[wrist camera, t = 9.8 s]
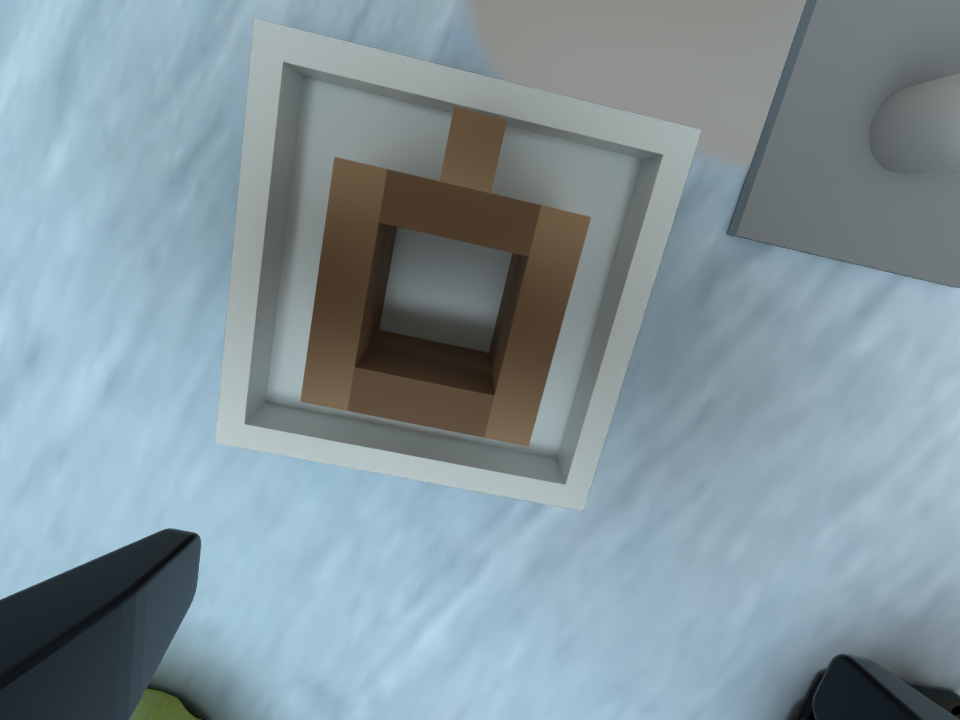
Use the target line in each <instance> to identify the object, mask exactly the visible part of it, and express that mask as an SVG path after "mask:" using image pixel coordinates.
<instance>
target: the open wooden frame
mask: <svg viewBox="0 0 960 720" xmlns="http://www.w3.org/2000/svg"><path fill="white" fill-rule="evenodd" d="M506 123H507V120H506V119H502V118H498V117H494V116H490V115H486V114H482V113H478V112H474V111H470V110H466V109H462V108H458V107H454V109H453V115H452V120H451V125H450V130H449V135H448V140H447V146H446V151H445V156H444V161H443V166H442V172H441V177H440V181H436V180H432V179H427V178H423V177H419V176H415V175H410V174H406V173H402V172H398V171H393V170H389V169H385V168H380V167H376V166H372V165H368V164H363V163H359V162H355V161H351V160H346V159H342V158H338V157H334V163H333V171H332V178H331V185H330V192H329V199H328V206H327V213H326V221H325V228H324V235H323V242H322V249H321V256H320V264H319V271H318V278H317V285H316V292H315V299H314V307H313V314H312V321H311V328H310V335H309V342H308V350H307V357H306V364H305V371H304V378H303V385H302V392H301V400H300V402H304V403H309V404H314V405H319V406H324V407H330V408H335V409H340V410H345V411H350V412H355V413H360V414H365V415H370V416H375V417H381V418H386V419H391V420H396V421H401V422H406V423H411V424H416V425H421V426H426V427H432V428H437V429H442V430H447V431H452V432H457V433H462V434H467V435H472V436H477V437H482V438H488V439H493V440H498V441H503V442H508V443H513V444H518V445H523V446H528V447H529V444H530V440H531V436H532V433H533V429H534V425H535V422H536V418H537V414H538V410H539V407H540V403H541V399H542V396H543V392H544V388H545V385H546V381H547V377H548V374H549V370H550V366H551V363H552V359H553V355H554V352H555V348H556V344H557V341H558V337H559V333H560V330H561V326H562V322H563V319H564V315H565V311H566V308H567V304H568V300H569V297H570V293H571V289H572V286H573V282H574V278H575V275H576V271H577V267H578V264H579V260H580V256H581V253H582V249H583V245H584V242H585V238H586V234H587V231H588V227H589V223H590V219H591V217H589V216H585V215H581V214H577V213H572V212H568V211H564V210H560V209H555V208H551V207H547V206H542V205H538V204H534V203H530V202H525V201H521V200H517V199H513V198H508V197H504V196H500V195H496V194H491V191H492V186H493V182H494V177H495V173H496V168H497V164H498V159H499V154H500V150H501V145H502V141H503V136H504V132H505V127H506ZM397 227H400V228H405V229H409V230H414V231H418V232H423V233H427V234H431V235H436V236H440V237H445V238H449V239H454V240H458V241H462V242H467V243H471V244H476V245H480V246H485V247H489V248H493V249H498V250H502V251H507V252H511V253H512V257H511V261H510V265H509V270H508V274H507V278H506V282H505V287H504V291H503V295H502V299H501V303H500V308H499V312H498V316H497V320H496V324H495V329H494V333H493V337H492V341H491V346H490V350H489V353H488V352H483V351H478V350H474V349H469V348H464V347H459V346H454V345H450V344H445V343H440V342H435V341H431V340H426V339H421V338H416V337H412V336H407V335H402V334H397V333H392V332H388V331H383V330H379V328H380V322H381V316H382V311H383V305H384V299H385V294H386V288H387V282H388V277H389V271H390V265H391V260H392V254H393V248H394V243H395V237H396V231H397Z"/></svg>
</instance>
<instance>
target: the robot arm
mask: <svg viewBox="0 0 960 720" xmlns="http://www.w3.org/2000/svg"><path fill="white" fill-rule="evenodd" d="M200 551H201V539H200V536H199V535H198V534H197V533H194V532H188V531H183V530H178V529H171V528H169V529H165V530H162V531H159V532H157V533H155V534H152V535H150V536H148V537H145V538H143V539H141V540H138V541H136V542H134V543H131V544H129V545H127V546H124V547H122V548H120V549H118V550H115V551H113V552H111V553H108V554H106V555H104V556H101V557H99V558H97V559H94V560H92V561H90V562H87V563H85V564H83V565H80V566H78V567H76V568H73V569H71V570H69V571H66V572H64V573H62V574H59V575H57V576H55V577H52V578H50V579H48V580H45V581H43V582H41V583H38V584H36V585H34V586H31V587H29V588H27V589H24V590H22V591H20V592H17V593H15V594H13V595H10V596H8V597H6V598H3V599H1V600H0V720H130V718H131V716H132V714H133V713H134V711H135V709H136V707H137V705H138V703H139V702H140V700H141V698H142V696H143V694H144V692H145V690H146V688H147V687H148V685H149V683H150V681H151V679H152V677H153V675H154V673H155V671H156V670H157V668H158V666H159V664H160V662H161V660H162V658H163V656H164V654H165V652H166V651H167V649H168V647H169V645H170V643H171V641H172V639H173V637H174V635H175V634H176V632H177V630H178V628H179V626H180V624H181V622H182V620H183V618H184V617H185V615H186V613H187V611H188V609H189V607H190V605H191V603H192V601H193V598H194V595H195V592H196V588H197V580H198V570H199V561H200ZM798 720H960V696H959V695H958V694H956V693H951V692H945V691H939V690H933V689H927V688H921V687H915V686H909V685H908V684H906V683H905V682H903V681H902V680H900V679H899V678H897V677H896V676H894V675H893V674H891V673H890V672H888V671H887V670H885V669H884V668H882V667H881V666H879V665H878V664H876V663H875V662H873V661H872V660H869V659H867V658H863V657H858V656H853V655H847V654H839V655H837V656H835V657H834V658H833V659H832V661H831V662H830V664H829V666H828V668H827V670H826V672H825V674H824V675H822V676H821V677H819V679H818V680H817V682H816V684H815V686H814V688H813V690H812V692H811V694H810V696H809V698H808V700H807V702H806V704H805V706H804V708H803V710H802V712H801V714H800V716H799V718H798Z"/></svg>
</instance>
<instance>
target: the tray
mask: <svg viewBox="0 0 960 720" xmlns="http://www.w3.org/2000/svg"><path fill="white" fill-rule="evenodd" d="M454 107H458V108H462V109H466V110H470V111H474V112H478V113H482V114H486V115H490V116H494V117H498V118H502V119H506V120H507V123H506V127H505V132H504V136H503V141H502V145H501V150H500V154H499V159H498V164H497V168H496V173H495V177H494V182H493V186H492V191H491V194H496V195H500V196H504V197H508V198H513V199H517V200H521V201H525V202H530V203H534V204H538V205H542V206H547V207H551V208H555V209H560V210H564V211H568V212H572V213H577V214H581V215H585V216H589V217H591V219H590V223H589V227H588V231H587V234H586V238H585V242H584V245H583V249H582V253H581V256H580V260H579V264H578V267H577V271H576V275H575V278H574V282H573V286H572V289H571V293H570V297H569V300H568V304H567V308H566V311H565V315H564V319H563V322H562V326H561V330H560V333H559V337H558V341H557V344H556V348H555V352H554V355H553V359H552V363H551V366H550V370H549V374H548V377H547V381H546V385H545V388H544V392H543V396H542V399H541V403H540V407H539V410H538V414H537V418H536V422H535V425H534V429H533V433H532V436H531V440H530V444H529V447H528V446H523V445H518V444H513V443H508V442H503V441H498V440H493V439H488V438H482V437H477V436H472V435H467V434H462V433H457V432H452V431H447V430H442V429H437V428H432V427H426V426H421V425H416V424H411V423H406V422H401V421H396V420H391V419H386V418H381V417H375V416H370V415H365V414H360V413H355V412H350V411H345V410H340V409H335V408H330V407H324V406H319V405H314V404H309V403H304V402H300V400H301V392H302V385H303V378H304V371H305V364H306V357H307V350H308V342H309V335H310V328H311V321H312V314H313V307H314V299H315V292H316V285H317V278H318V271H319V264H320V256H321V249H322V242H323V235H324V228H325V221H326V213H327V206H328V199H329V192H330V185H331V178H332V171H333V163H334V157H338V158H342V159H346V160H351V161H355V162H359V163H363V164H368V165H372V166H376V167H380V168H385V169H389V170H393V171H398V172H402V173H406V174H410V175H415V176H419V177H423V178H427V179H432V180H436V181H440V177H441V172H442V166H443V161H444V156H445V151H446V146H447V140H448V135H449V130H450V125H451V120H452V115H453V109H454ZM701 131H702V130H700V129H696V128H692V127H688V126H684V125H680V124H676V123H672V122H668V121H664V120H660V119H656V118H652V117H648V116H644V115H640V114H636V113H632V112H628V111H624V110H620V109H616V108H611V107H608V106H604V105H600V104H596V103H592V102H588V101H584V100H580V99H576V98H572V97H568V96H564V95H560V94H556V93H552V92H547V91H544V90H540V89H536V88H532V87H528V86H524V85H520V84H516V83H512V82H508V81H504V80H500V79H496V78H492V77H488V76H484V75H480V74H476V73H472V72H468V71H464V70H460V69H456V68H452V67H448V66H444V65H440V64H436V63H432V62H428V61H424V60H420V59H416V58H412V57H408V56H404V55H400V54H396V53H392V52H388V51H384V50H380V49H376V48H372V47H368V46H364V45H360V44H356V43H352V42H348V41H344V40H340V39H336V38H332V37H328V36H324V35H320V34H316V33H312V32H308V31H304V30H300V29H296V28H291V27H287V26H283V25H279V24H275V23H271V22H267V21H263V20H259V19H255V18H254V23H253V34H252V45H251V56H250V67H249V78H248V88H247V99H246V110H245V121H244V132H243V143H242V154H241V165H240V176H239V187H238V197H237V208H236V219H235V230H234V241H233V252H232V263H231V274H230V285H229V296H228V306H227V317H226V328H225V339H224V350H223V361H222V372H221V383H220V394H219V404H218V415H217V426H216V437H215V443H217V444H223V445H228V446H234V447H239V448H244V449H250V450H255V451H261V452H266V453H271V454H277V455H282V456H288V457H293V458H298V459H304V460H309V461H315V462H320V463H325V464H331V465H336V466H342V467H347V468H352V469H358V470H363V471H369V472H374V473H379V474H385V475H390V476H396V477H401V478H406V479H412V480H417V481H423V482H428V483H433V484H439V485H444V486H450V487H455V488H460V489H466V490H471V491H477V492H482V493H487V494H493V495H498V496H504V497H509V498H514V499H520V500H525V501H531V502H536V503H541V504H547V505H552V506H558V507H563V508H568V509H574V510H579V511H583V510H584V507H585V503H586V500H587V497H588V494H589V491H590V487H591V484H592V481H593V478H594V475H595V471H596V468H597V465H598V462H599V458H600V455H601V452H602V449H603V446H604V442H605V439H606V436H607V433H608V430H609V426H610V423H611V420H612V417H613V413H614V410H615V407H616V404H617V401H618V397H619V394H620V391H621V388H622V385H623V381H624V378H625V375H626V372H627V369H628V365H629V362H630V359H631V356H632V352H633V349H634V346H635V343H636V340H637V336H638V333H639V330H640V327H641V324H642V320H643V317H644V314H645V311H646V307H647V304H648V301H649V298H650V295H651V291H652V288H653V285H654V282H655V279H656V275H657V272H658V269H659V266H660V263H661V259H662V256H663V253H664V250H665V246H666V243H667V240H668V237H669V234H670V230H671V227H672V224H673V221H674V218H675V214H676V211H677V208H678V205H679V201H680V198H681V195H682V192H683V189H684V185H685V182H686V179H687V176H688V173H689V169H690V166H691V163H692V160H693V157H694V153H695V150H696V147H697V144H698V140H699V137H700V134H701ZM511 257H512V253H511V252H507V251H502V250H498V249H493V248H489V247H485V246H480V245H476V244H471V243H467V242H462V241H458V240H454V239H449V238H445V237H440V236H436V235H431V234H427V233H423V232H418V231H414V230H409V229H405V228H400V227H397V231H396V237H395V243H394V248H393V254H392V260H391V265H390V271H389V277H388V282H387V288H386V294H385V299H384V305H383V311H382V316H381V322H380V328H379V330H383V331H388V332H392V333H397V334H402V335H407V336H412V337H416V338H421V339H426V340H431V341H435V342H440V343H445V344H450V345H454V346H459V347H464V348H469V349H474V350H478V351H483V352H488V353H489V350H490V346H491V341H492V337H493V333H494V329H495V324H496V320H497V316H498V312H499V308H500V303H501V299H502V295H503V291H504V287H505V282H506V278H507V274H508V270H509V265H510V261H511Z"/></svg>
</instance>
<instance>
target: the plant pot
mask: <svg viewBox="0 0 960 720" xmlns="http://www.w3.org/2000/svg"><path fill="white" fill-rule="evenodd" d="M130 720H200V719H197V718H195V717H194V716H193V715H191V714H190V713H189V712H188V711H187V710H186V709H185V707H184V706H183V704H182V703H181V701H180V700H179V699H178V698H177V697H174V696H172V695H170V694H167V693H164V692H161V691H157V690H153V689H146V690H145V692H144V694H143V696H142V698H141V700H140V702H139V703H138V705H137V707H136V709H135V711H134V713H133V714H132V716H131V718H130Z"/></svg>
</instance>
